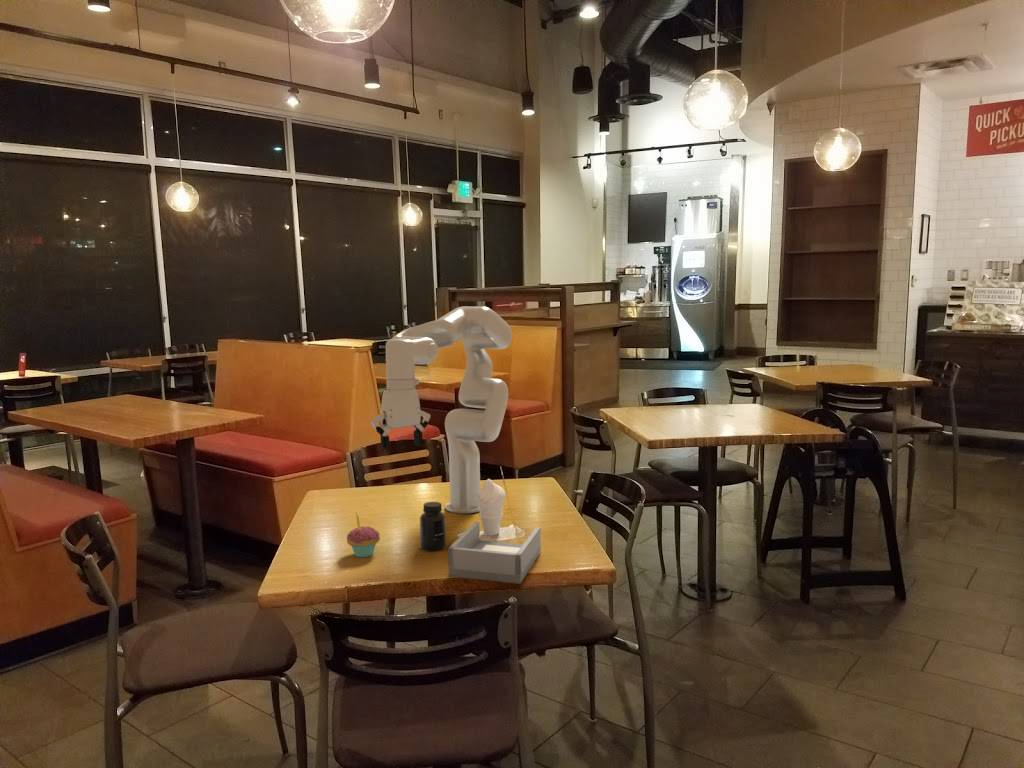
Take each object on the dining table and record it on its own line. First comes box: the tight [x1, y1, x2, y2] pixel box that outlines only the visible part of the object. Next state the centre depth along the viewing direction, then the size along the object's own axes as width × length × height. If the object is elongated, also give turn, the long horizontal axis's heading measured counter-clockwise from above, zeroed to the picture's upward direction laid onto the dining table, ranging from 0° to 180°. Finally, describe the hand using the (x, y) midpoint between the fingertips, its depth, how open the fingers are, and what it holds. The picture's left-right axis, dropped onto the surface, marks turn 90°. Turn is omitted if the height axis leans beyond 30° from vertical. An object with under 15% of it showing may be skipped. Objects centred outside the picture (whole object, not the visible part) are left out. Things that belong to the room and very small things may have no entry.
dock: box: [447, 521, 542, 585], centre depth 181 cm, size 20×18×7 cm
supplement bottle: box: [419, 501, 447, 552], centre depth 193 cm, size 7×7×12 cm
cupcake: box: [346, 512, 381, 558], centre depth 189 cm, size 9×8×12 cm
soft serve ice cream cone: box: [476, 478, 506, 537], centre depth 203 cm, size 8×8×16 cm
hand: (402, 447), depth 195 cm, fingers open, 9 cm apart
